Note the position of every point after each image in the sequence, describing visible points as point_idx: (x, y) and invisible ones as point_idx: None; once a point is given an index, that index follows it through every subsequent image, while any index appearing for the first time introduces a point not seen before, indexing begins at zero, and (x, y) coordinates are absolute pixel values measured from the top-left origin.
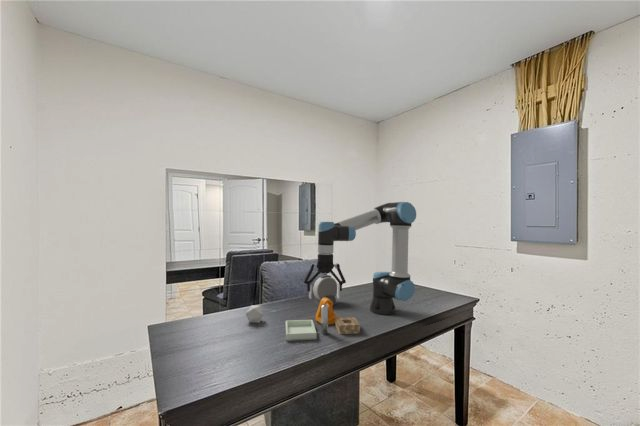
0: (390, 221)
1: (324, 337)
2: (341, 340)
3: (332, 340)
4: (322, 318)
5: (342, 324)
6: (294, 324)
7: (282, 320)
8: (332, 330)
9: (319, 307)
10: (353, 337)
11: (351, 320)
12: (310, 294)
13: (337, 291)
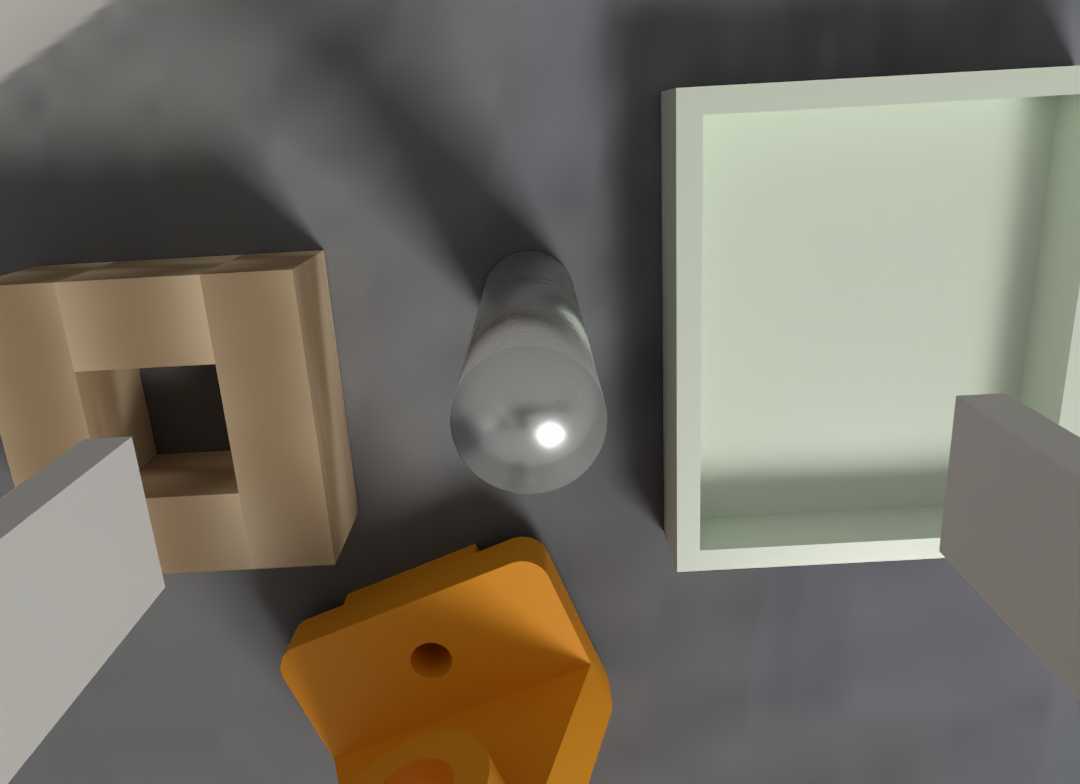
0: None
1: (541, 154)
2: (313, 41)
3: (440, 49)
4: (570, 309)
5: (243, 311)
6: (914, 516)
7: (1022, 698)
8: (409, 373)
9: None
10: (136, 132)
11: None
12: (1069, 447)
13: (52, 641)
